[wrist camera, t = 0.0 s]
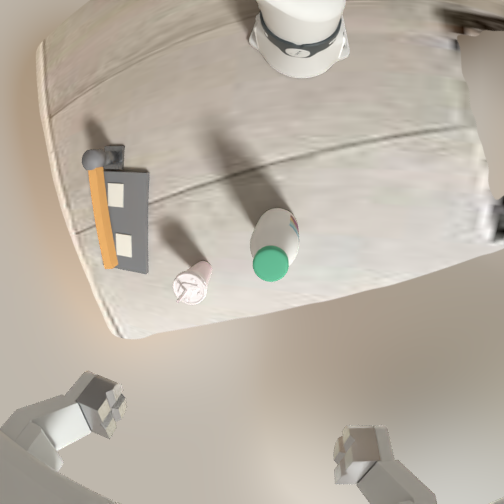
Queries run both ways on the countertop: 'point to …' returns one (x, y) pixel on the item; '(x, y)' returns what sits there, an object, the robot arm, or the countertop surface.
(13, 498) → the robot arm
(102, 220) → the strip
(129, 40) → the countertop surface
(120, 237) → the tray
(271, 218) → the milk bottle
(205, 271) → the smoothie
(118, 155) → the pivot post
